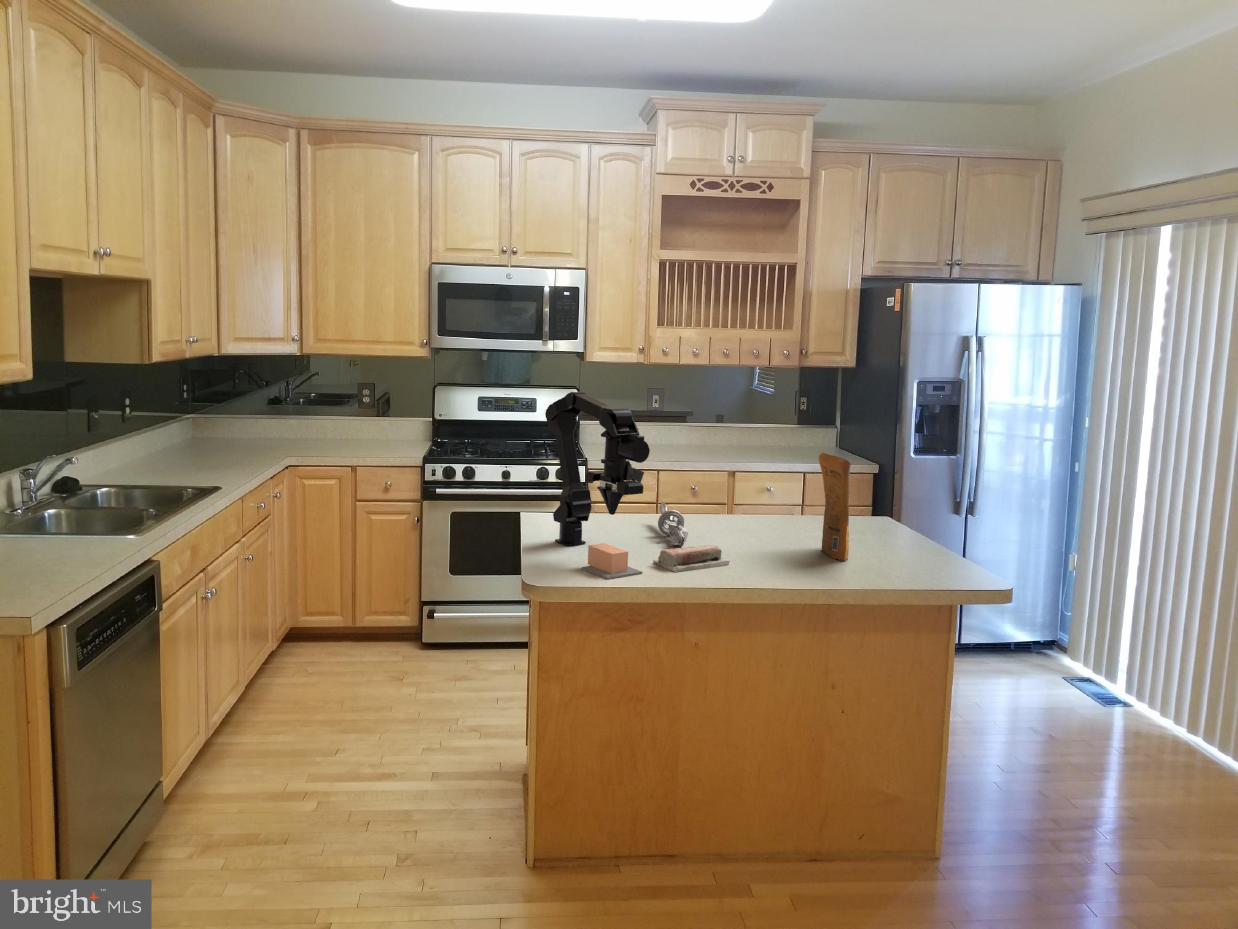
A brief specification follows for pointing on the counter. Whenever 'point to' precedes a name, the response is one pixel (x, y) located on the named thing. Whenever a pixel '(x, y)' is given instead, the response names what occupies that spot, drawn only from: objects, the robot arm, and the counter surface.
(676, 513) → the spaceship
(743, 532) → the counter surface
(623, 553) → the terracotta block
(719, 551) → the packaged product
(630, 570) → the gray square plate
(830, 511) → the pancake mix bag
